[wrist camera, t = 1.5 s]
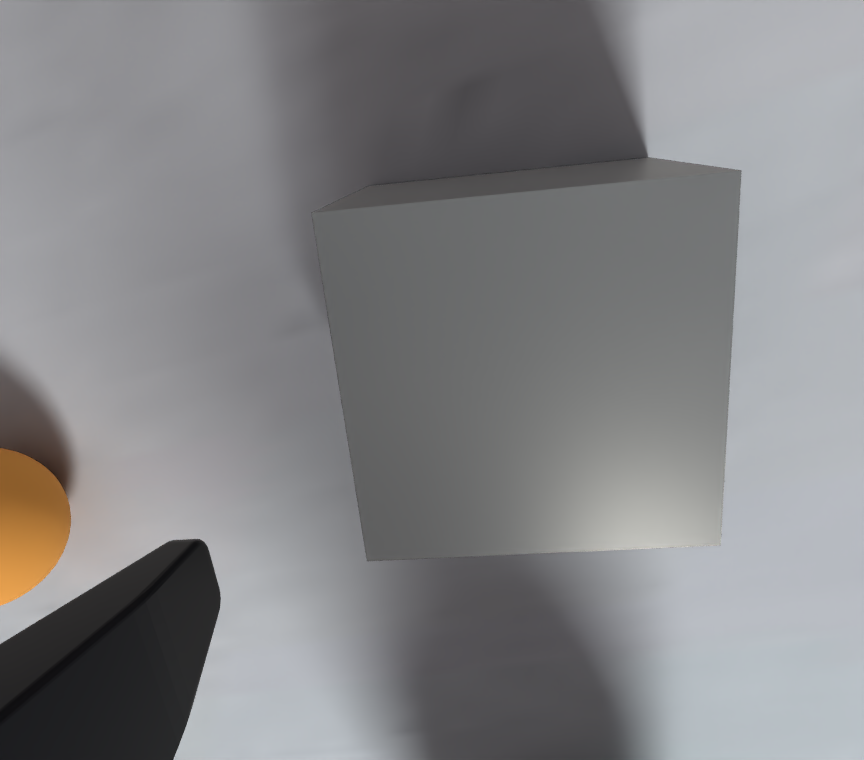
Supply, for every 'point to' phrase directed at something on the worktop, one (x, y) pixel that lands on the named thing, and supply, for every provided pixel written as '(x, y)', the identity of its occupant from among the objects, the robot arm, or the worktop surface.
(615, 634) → the worktop surface
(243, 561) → the worktop surface
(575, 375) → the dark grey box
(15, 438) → the worktop surface
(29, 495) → the ball
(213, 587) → the robot arm
